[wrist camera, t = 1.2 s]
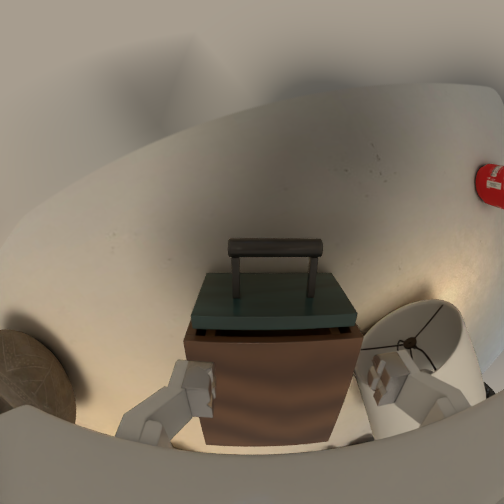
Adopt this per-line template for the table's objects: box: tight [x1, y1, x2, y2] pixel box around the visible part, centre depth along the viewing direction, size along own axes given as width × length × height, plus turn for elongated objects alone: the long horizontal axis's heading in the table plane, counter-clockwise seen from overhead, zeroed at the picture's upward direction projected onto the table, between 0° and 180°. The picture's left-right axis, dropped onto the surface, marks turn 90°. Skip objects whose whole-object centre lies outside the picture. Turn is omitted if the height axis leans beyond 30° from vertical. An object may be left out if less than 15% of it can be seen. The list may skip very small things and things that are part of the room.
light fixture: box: [354, 299, 495, 440], centre depth 26 cm, size 17×19×34 cm
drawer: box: [191, 238, 357, 337], centre depth 24 cm, size 19×12×8 cm, turn 0°
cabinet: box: [183, 320, 364, 446], centre depth 26 cm, size 16×14×10 cm
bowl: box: [0, 330, 76, 424], centre depth 26 cm, size 21×21×15 cm
